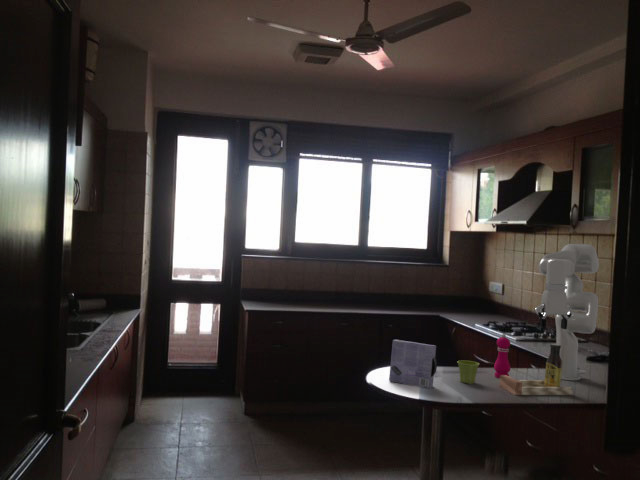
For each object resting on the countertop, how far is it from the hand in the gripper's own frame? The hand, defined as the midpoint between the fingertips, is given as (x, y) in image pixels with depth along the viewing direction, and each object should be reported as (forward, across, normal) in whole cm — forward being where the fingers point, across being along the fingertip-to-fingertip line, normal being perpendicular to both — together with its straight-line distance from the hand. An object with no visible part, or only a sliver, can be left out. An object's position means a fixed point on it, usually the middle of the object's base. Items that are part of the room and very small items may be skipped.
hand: (553, 328), depth 237 cm
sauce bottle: (+27, -1, 0) cm, 27 cm away
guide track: (+26, +7, +1) cm, 27 cm away
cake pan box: (+27, +59, -8) cm, 65 cm away
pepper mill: (+27, +10, -23) cm, 37 cm away
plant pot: (+27, +32, -13) cm, 43 cm away
